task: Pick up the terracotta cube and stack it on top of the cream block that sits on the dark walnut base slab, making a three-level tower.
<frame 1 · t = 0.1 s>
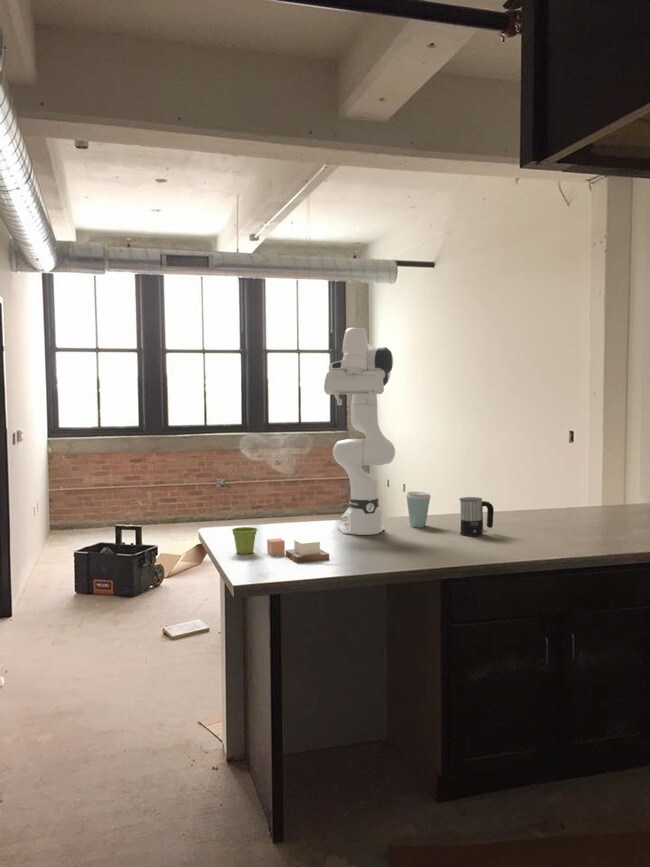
hand: (353, 404, 235), 54 cm above the countertop, tool tilted 30°, fingers open, 8 cm apart
cream block: (307, 552, 248), point 2 cm above the countertop, touching walnut base
disposable coffee cup: (418, 526, 305), on the countertop
plant pot: (245, 553, 257), on the countertop
terracotta cube: (276, 553, 256), on the countertop
milk frother: (471, 532, 291), on the countertop
walnut base: (307, 557, 248), on the countertop
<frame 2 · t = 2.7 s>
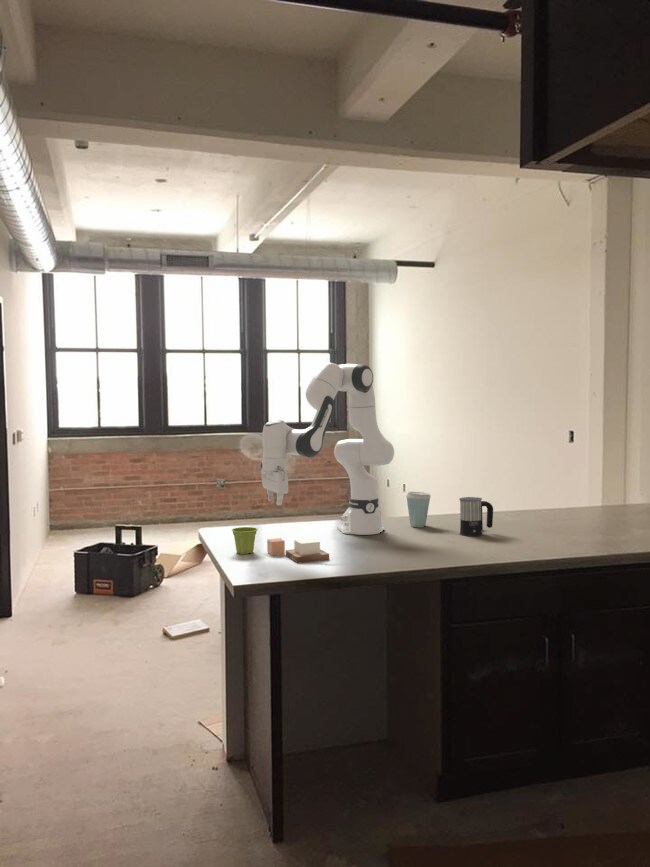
hand: (275, 503, 254), 18 cm above the countertop, tool pointing down, fingers open, 8 cm apart
nothing on the countertop moved.
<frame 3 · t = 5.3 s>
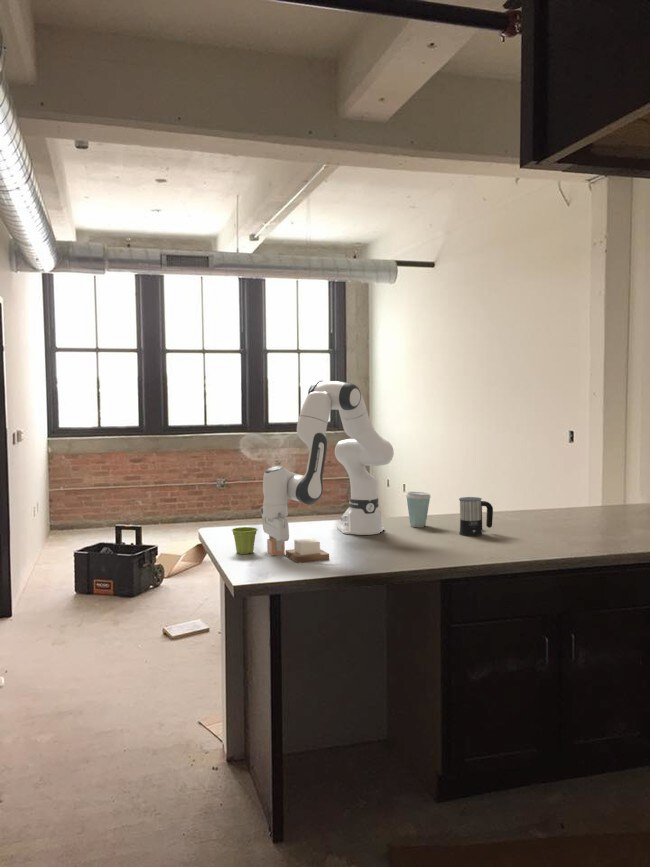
hand: (275, 548, 255), 2 cm above the countertop, tool pointing down, fingers closed on terracotta cube, 5 cm apart
terracotta cube: (276, 553, 256), on the countertop, touching gripper
everything else where it was.
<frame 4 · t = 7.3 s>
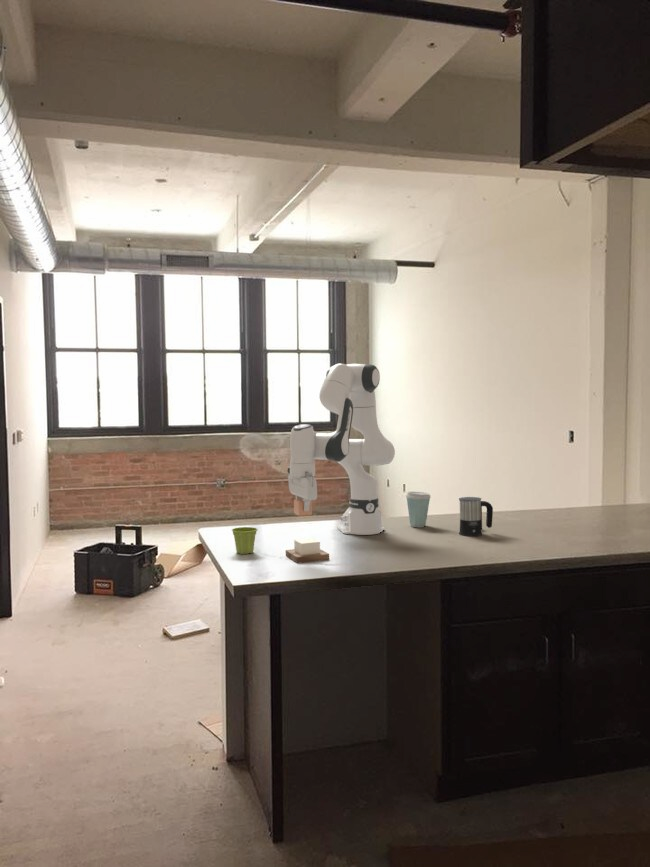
hand: (303, 509, 248), 17 cm above the countertop, tool pointing down, fingers closed on terracotta cube, 5 cm apart
terracotta cube: (303, 514, 248), point 15 cm above the countertop, touching gripper
everything else where it was.
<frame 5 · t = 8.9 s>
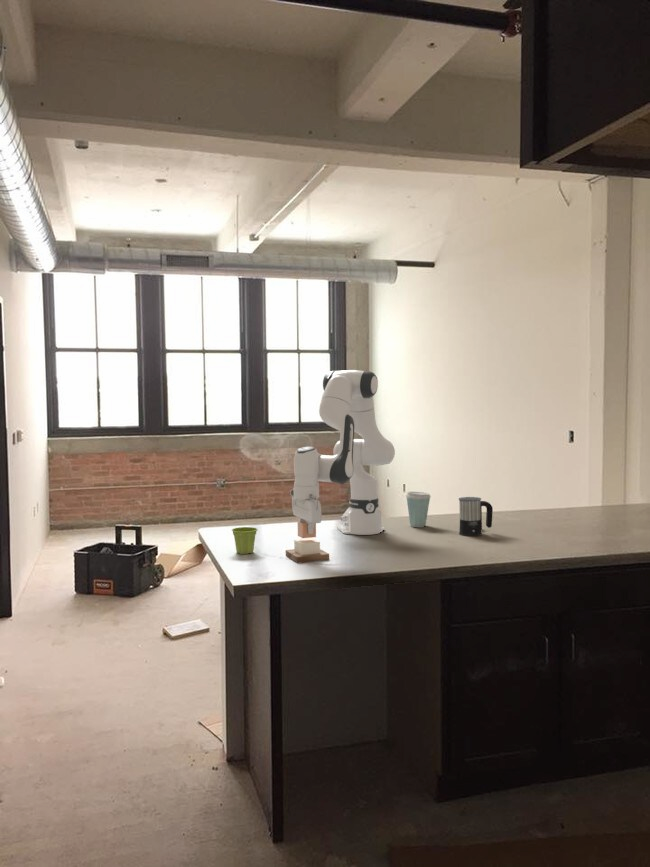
hand: (306, 531, 248), 9 cm above the countertop, tool pointing down, fingers closed on terracotta cube, 5 cm apart
terracotta cube: (306, 536, 248), point 8 cm above the countertop, touching gripper
everything else where it was.
when the fingers open (9 cm above the countertop, at t = 9.8 s): terracotta cube stays where it is, resting on cream block.
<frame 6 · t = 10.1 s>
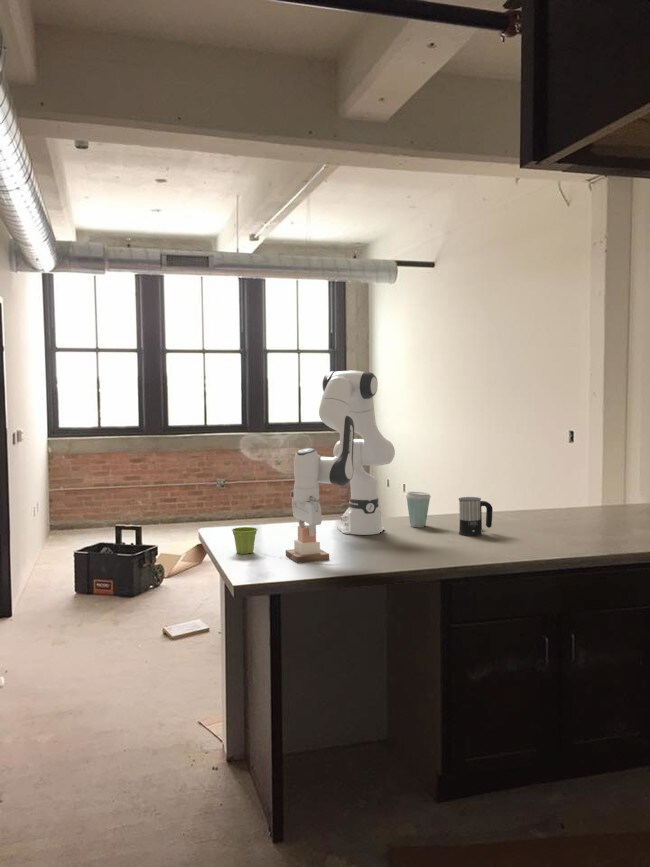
hand: (306, 533, 248), 9 cm above the countertop, tool pointing down, fingers open, 7 cm apart
cream block: (307, 552, 248), point 2 cm above the countertop, touching terracotta cube, walnut base
terracotta cube: (306, 540, 248), point 6 cm above the countertop, touching cream block
everything else where it was.
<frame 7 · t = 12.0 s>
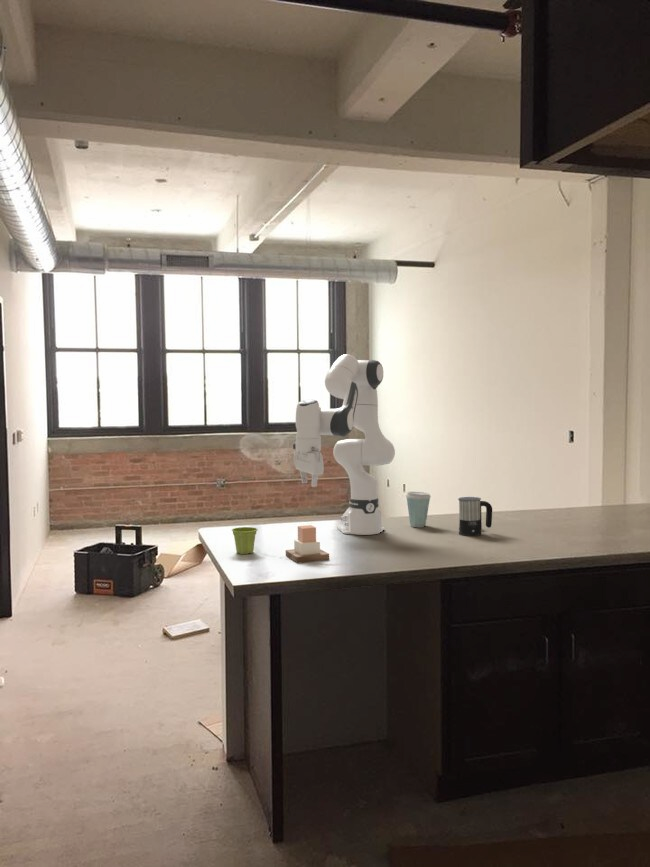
hand: (309, 484, 249), 26 cm above the countertop, tool pointing down, fingers open, 8 cm apart
nothing on the countertop moved.
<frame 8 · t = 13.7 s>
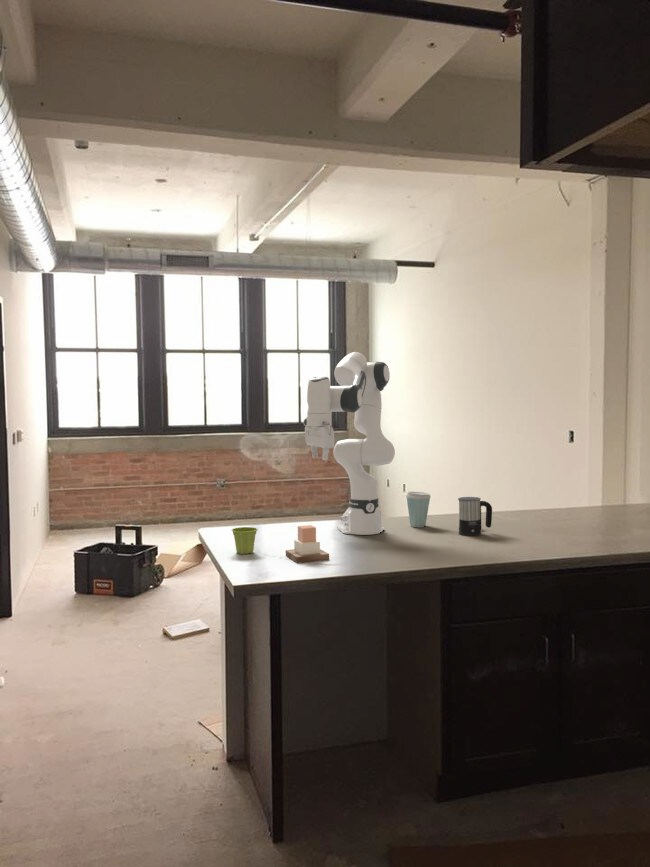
hand: (319, 459, 256), 34 cm above the countertop, tool pointing down, fingers open, 8 cm apart
nothing on the countertop moved.
at the end: terracotta cube 0.0 cm off-centre on the cream block, point 4.0 cm above the cream block's base; terracotta cube tilted 0°; cream block moved 0.0 cm from its start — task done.
